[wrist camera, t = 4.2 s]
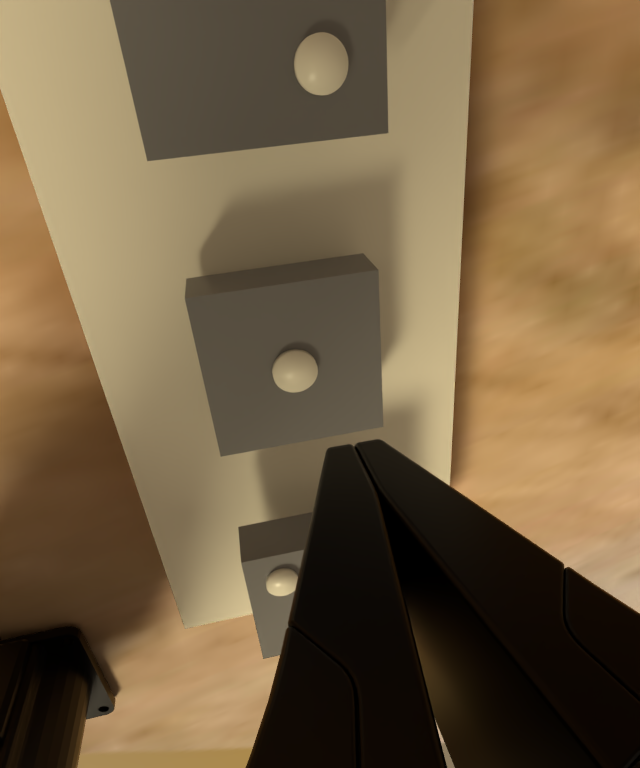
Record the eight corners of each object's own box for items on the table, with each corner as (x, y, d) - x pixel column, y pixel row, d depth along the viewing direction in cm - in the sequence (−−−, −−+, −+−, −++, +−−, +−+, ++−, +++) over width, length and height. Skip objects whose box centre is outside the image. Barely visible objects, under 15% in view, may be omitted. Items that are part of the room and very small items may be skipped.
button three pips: (385, 593, 20) (399, 632, 19) (259, 621, 20) (263, 664, 18) (382, 497, 18) (397, 535, 16) (238, 526, 17) (241, 567, 16)
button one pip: (369, 400, 17) (385, 430, 16) (219, 427, 17) (220, 461, 15) (363, 253, 15) (380, 272, 13) (186, 278, 14) (184, 301, 13)
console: (420, 521, 25) (445, 571, 23) (186, 570, 24) (184, 628, 21) (430, -187, 13) (485, -252, 11) (-43, -167, 12) (-111, -235, 9)
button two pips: (368, 127, 12) (391, 134, 11) (153, 152, 12) (146, 162, 10) (358, -165, 10) (386, -209, 8) (84, -152, 9) (62, -196, 8)
